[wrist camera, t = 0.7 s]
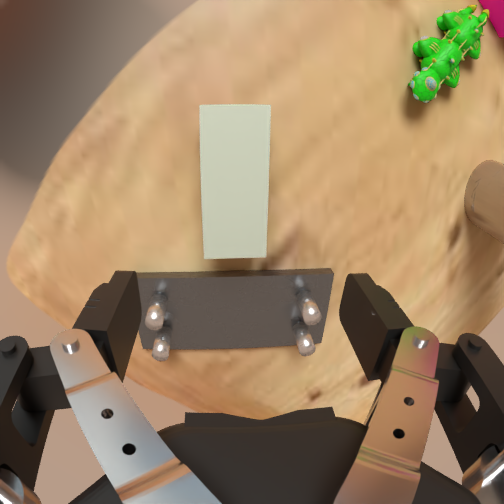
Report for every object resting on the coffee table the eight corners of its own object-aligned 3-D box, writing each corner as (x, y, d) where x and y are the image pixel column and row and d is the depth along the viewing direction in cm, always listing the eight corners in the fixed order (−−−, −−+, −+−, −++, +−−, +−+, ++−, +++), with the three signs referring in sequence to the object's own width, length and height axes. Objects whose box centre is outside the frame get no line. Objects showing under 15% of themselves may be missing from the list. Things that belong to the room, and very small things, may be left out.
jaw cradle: (330, 268, 36) (346, 293, 31) (318, 336, 40) (329, 365, 35) (130, 272, 33) (118, 299, 29) (144, 342, 38) (137, 371, 33)
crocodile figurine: (379, 74, 27) (400, 72, 23) (456, -9, 22) (478, -15, 18) (418, 119, 29) (441, 124, 25) (487, 33, 24) (510, 31, 20)
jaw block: (259, 104, 27) (270, 104, 21) (256, 226, 33) (266, 257, 26) (204, 105, 27) (199, 105, 21) (206, 227, 32) (204, 259, 26)
